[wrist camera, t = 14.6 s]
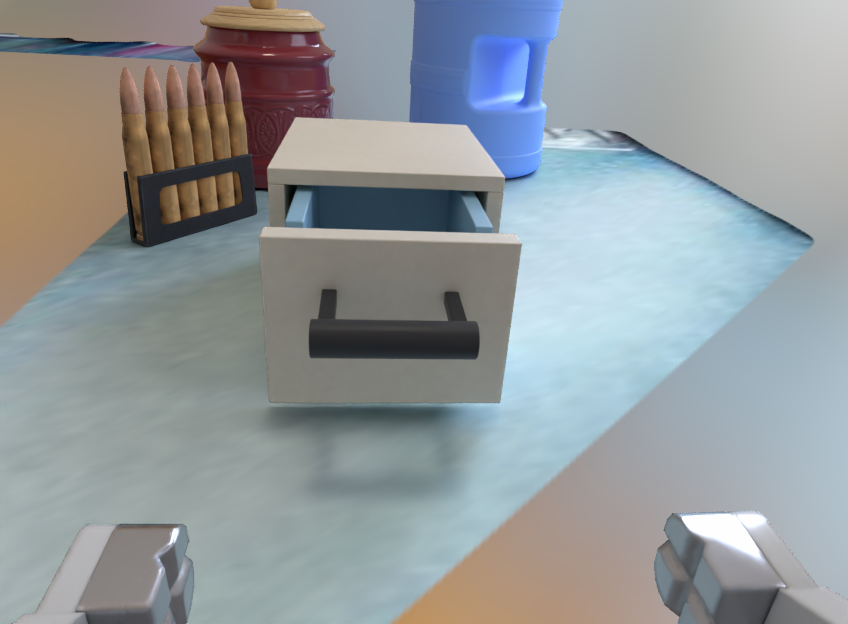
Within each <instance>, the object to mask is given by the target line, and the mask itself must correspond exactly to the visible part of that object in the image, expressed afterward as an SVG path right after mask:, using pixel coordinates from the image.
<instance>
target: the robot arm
mask: <svg viewBox="0 0 848 624" xmlns="http://www.w3.org/2000/svg"><path fill="white" fill-rule="evenodd" d="M664 532H665V534H666V535H667V537H668V540H667V541H666V542H665V543H664V544H663V545H662V546H660V547H659V548H658V550H657V554H656V558H655V561H654V570H655V581H656V584H657V588H658V591H659V594H660V596H661V598H662V600H663V602H664V604H665V606H666V607H668V608H669V609H670V610H671V611H673V612H674V613H675V614H677V615H678V616H679V620H678V624H848V600H847V599H845V598H844V597H842V596H840V595H839V594H837V593H836V592H834V591H833V590H831V589H829V588H828V587H818V586H817V584H816V583H815V582H814V580H813V579H812V578H811V577H810V575H809V574H808V573H807V571H806V570H805V569H804V567H803V566H802V565H801V563H800V562H799V561H798V560H797V558H796V557H795V556H794V554H793V553H792V552H791V550H790V549H789V548H788V547H787V545H786V544H785V543H784V541H783V540H782V539H781V537H780V536H779V535H778V534H777V532H776V531H775V529H774V528H773V527H772V526H771V524H770V523H769V522H768V520H767V519H766V518H765V517H764V516H763V515H762V514H761V513H759V512H757V511H733V512H700V513H672V514H671V516H670V517H669V518H668V519H667V521H666V524H665V527H664ZM188 543H189V537H188V532H187V527H186V526H185V525H183V524H119V525H118V524H87V525H85V526H84V527H83V528H82V529H81V530H80V531H79V532H78V533H77V535H76V537H75V539H74V541H73V543H72V545H71V546H70V548H69V550H68V552H67V554H66V556H65V558H64V559H63V561H62V563H61V565H60V567H59V569H58V571H57V573H56V574H55V576H54V578H53V580H52V582H51V584H50V586H49V587H48V589H47V591H46V593H45V595H44V597H43V599H42V601H41V602H40V604H39V606H38V608H37V610H36V612H35V614H24V615H22V616H21V617H20V618H18V619H17V620H16V621H14V622H13V623H12V624H186V623H187V620H188V617H189V613H190V609H191V605H192V598H193V591H194V569H193V562H192V560H191V559H190V558H188V557H187V556H186V555H185V553H186V550H187V547H188Z"/></svg>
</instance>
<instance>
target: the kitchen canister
mask: <svg viewBox="0 0 848 624" xmlns="http://www.w3.org/2000/svg"><path fill="white" fill-rule="evenodd" d="M249 3H250V5H251V6H252V7H241V6H217V7H215V9H214V11H213V12H211V13H210V14H208V15H207V16H205V17H203V18H202V19H201V20H200V22H201V24H203V25H206V26H207V30H206V34H205V37H204V39H203V40H202V41H200V42H199V43H198V44H196V45H195V46H194V48H193V50H194V52H195V53H196V54H197V55H198V56H199V58H200V60H201V83H202V87H203V92H204V99H205V105H206V112H207V92H206V88H207V74H208V69H209V66H210V63H214V65H215V66H216V69H217V71H218V74H219V77H220V81H221V85H222V91H223V100H224V105H225V77H226V70H227V66H228V64H229V62H232V63H233V65H234V67H235V69H236V72H237V75H238V79H239V84H240V90H241V101H242V107H243V113H244V117H245V121H246V134H247V148H248V153H250V154H252V164H253V174H254V184H255V188H268V180H267V168H268V166H269V164H270V162H271V160H272V159H273V157H274V155H275V153H276V151H277V150H278V148H279V146H280V144H281V142H282V141H283V139H284V137H285V135H286V134H287V132H288V130H289V128H290V126H291V125H292V123H293V121H294V119H295V118H296V117H301V118H323V119H333V94H334V92H335V90H334V88H333V87H332V86H331V84H330V77H329V63H330V62H331V60H332V59H333V58H334V56H335V54H334V52H333V51H332V50H331V49H330V48H328V47H327V46H326V45H325V44H324V43H323V41H322V38H321V35H320V32H319V31H324V30H325V26H324V25H323V24H322V23H321V22H319V21H318V20H316V19H315V18H314V17H313V16H312V15H311V13H310V12H308V11H302V10H292V9H279V8H275V7H276V5H277V0H249Z"/></svg>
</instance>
